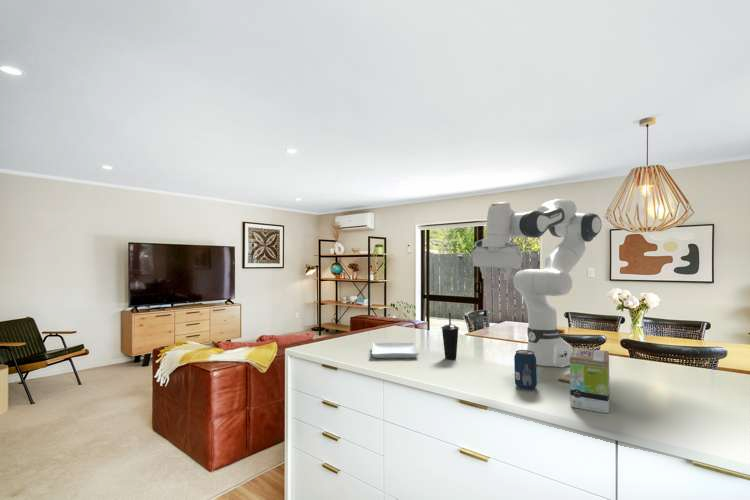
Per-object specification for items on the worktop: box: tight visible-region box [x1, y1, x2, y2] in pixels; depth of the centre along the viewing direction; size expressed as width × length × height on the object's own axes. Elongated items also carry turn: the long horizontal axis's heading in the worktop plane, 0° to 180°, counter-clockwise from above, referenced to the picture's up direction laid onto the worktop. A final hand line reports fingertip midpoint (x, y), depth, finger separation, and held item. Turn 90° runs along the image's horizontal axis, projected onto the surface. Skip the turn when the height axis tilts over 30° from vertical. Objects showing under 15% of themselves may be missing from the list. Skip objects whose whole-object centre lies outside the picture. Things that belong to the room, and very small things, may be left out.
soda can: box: [513, 349, 538, 391], centre depth 128 cm, size 7×7×12 cm
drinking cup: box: [441, 312, 460, 361], centre depth 167 cm, size 8×8×20 cm
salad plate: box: [371, 342, 420, 359], centre depth 177 cm, size 21×21×3 cm
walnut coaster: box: [557, 372, 570, 384], centre depth 134 cm, size 10×10×1 cm
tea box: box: [569, 347, 611, 414], centre depth 114 cm, size 15×10×15 cm, turn 148°
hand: (494, 279), depth 145 cm, fingers open, 8 cm apart
